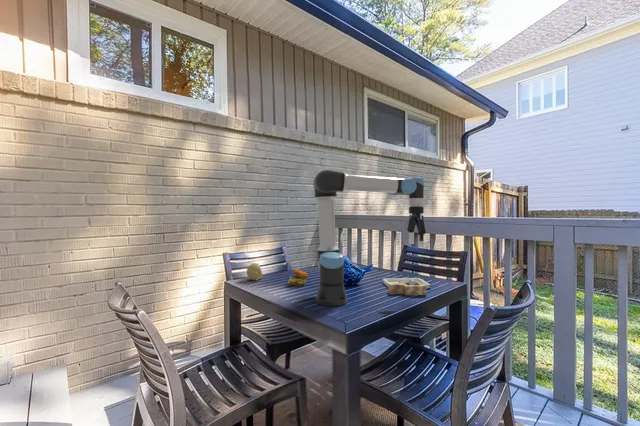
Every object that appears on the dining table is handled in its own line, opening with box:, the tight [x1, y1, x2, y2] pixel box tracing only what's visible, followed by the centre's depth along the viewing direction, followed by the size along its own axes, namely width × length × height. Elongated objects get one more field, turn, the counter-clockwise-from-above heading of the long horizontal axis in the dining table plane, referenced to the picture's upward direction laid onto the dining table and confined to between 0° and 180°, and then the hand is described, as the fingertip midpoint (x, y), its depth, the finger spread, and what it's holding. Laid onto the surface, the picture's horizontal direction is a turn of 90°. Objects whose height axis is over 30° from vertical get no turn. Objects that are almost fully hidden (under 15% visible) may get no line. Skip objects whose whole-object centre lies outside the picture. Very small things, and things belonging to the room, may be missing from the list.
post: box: [409, 279, 415, 285], centre depth 175 cm, size 5×5×7 cm
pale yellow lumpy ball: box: [246, 262, 264, 281], centre depth 205 cm, size 10×12×11 cm
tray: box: [382, 277, 432, 289], centre depth 191 cm, size 23×17×2 cm
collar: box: [387, 281, 427, 296], centre depth 174 cm, size 18×11×5 cm, turn 94°
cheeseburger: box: [287, 268, 308, 286], centre depth 194 cm, size 10×11×10 cm
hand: (415, 245), depth 175 cm, fingers open, 13 cm apart
